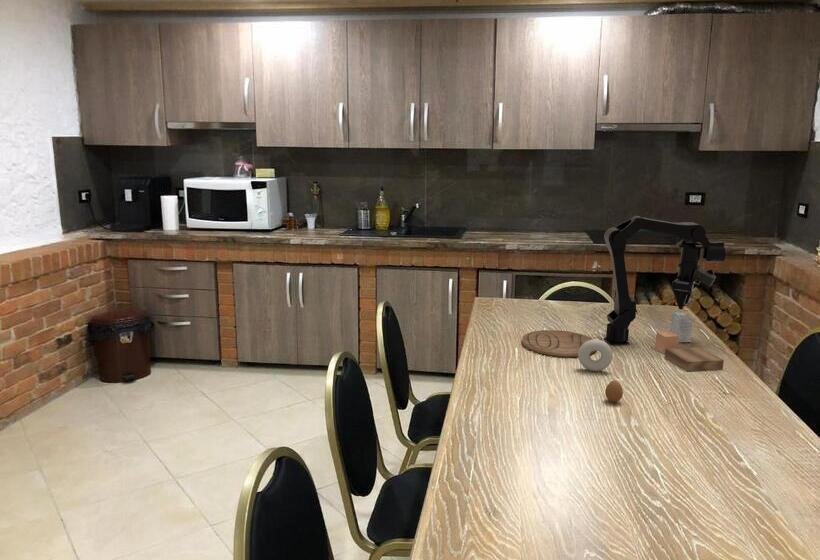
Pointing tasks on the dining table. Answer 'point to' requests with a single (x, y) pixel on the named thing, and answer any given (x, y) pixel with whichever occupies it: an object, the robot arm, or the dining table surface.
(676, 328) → the medicine box
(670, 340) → the terracotta block
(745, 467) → the dining table surface
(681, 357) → the walnut base
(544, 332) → the trivet
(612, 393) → the egg
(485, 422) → the dining table surface
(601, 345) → the donut
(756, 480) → the dining table surface
